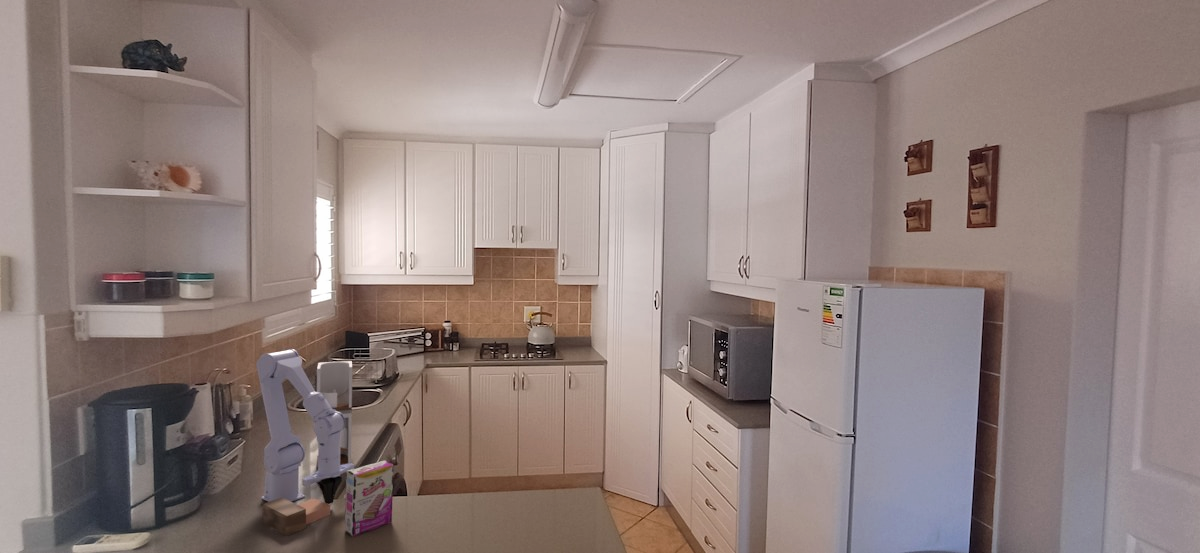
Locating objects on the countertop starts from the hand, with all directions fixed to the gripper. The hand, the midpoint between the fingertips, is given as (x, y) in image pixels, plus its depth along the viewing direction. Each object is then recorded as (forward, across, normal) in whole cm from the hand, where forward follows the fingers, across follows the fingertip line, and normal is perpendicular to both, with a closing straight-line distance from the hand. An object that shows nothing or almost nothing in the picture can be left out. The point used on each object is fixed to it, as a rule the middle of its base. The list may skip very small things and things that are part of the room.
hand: (328, 502), depth 157 cm
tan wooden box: (+2, -13, 0) cm, 13 cm away
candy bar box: (+2, 0, -19) cm, 19 cm away
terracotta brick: (+2, -6, 0) cm, 6 cm away
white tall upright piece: (+2, +20, +29) cm, 35 cm away
